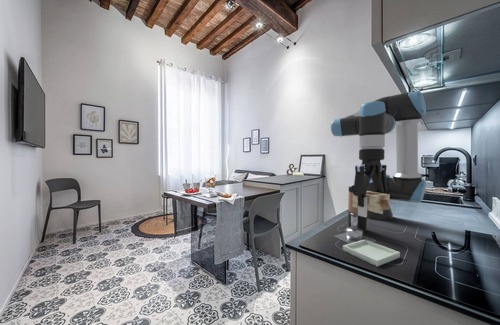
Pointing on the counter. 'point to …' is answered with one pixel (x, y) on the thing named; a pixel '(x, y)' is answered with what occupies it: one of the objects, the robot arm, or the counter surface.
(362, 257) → the tray
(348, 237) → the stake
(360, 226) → the travel mug
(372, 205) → the hollow wooden box
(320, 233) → the counter surface
